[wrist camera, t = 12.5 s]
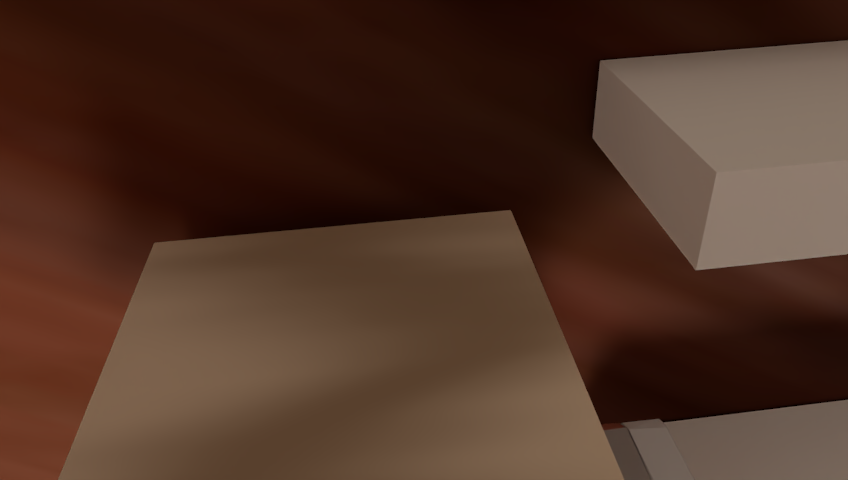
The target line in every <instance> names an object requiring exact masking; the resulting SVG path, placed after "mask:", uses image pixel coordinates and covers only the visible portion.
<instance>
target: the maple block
mask: <svg viewBox="0 0 848 480" xmlns="http://www.w3.org/2000/svg"><path fill="white" fill-rule="evenodd" d="M58 480H624V478H623V475H622V473H621V470H620V468H619V466H618V463H617V461H616V459H615V456H614V454H613V451H612V449H611V447H610V444H609V442H608V440H607V437H606V435H605V432H604V430H603V428H602V425H601V423H600V421H599V418H598V416H597V413H596V411H595V409H594V406H593V404H592V402H591V399H590V397H589V394H588V392H587V390H586V387H585V385H584V383H583V380H582V378H581V376H580V373H579V371H578V368H577V366H576V364H575V361H574V359H573V357H572V354H571V352H570V349H569V347H568V345H567V342H566V340H565V338H564V335H563V333H562V330H561V328H560V326H559V323H558V321H557V319H556V316H555V314H554V311H553V309H552V307H551V304H550V302H549V300H548V297H547V295H546V292H545V290H544V288H543V285H542V283H541V281H540V278H539V276H538V273H537V271H536V269H535V266H534V264H533V262H532V259H531V257H530V254H529V252H528V250H527V247H526V245H525V243H524V240H523V238H522V235H521V233H520V231H519V228H518V226H517V224H516V221H515V219H514V216H513V214H512V212H511V210H505V211H494V212H483V213H472V214H462V215H451V216H440V217H429V218H418V219H407V220H396V221H385V222H374V223H363V224H353V225H342V226H331V227H320V228H309V229H298V230H287V231H276V232H265V233H255V234H244V235H233V236H222V237H211V238H200V239H189V240H178V241H167V242H156V243H154V244H153V247H152V249H151V252H150V254H149V257H148V259H147V262H146V264H145V267H144V269H143V272H142V274H141V277H140V279H139V281H138V284H137V286H136V289H135V291H134V294H133V296H132V299H131V301H130V304H129V306H128V309H127V311H126V313H125V316H124V318H123V321H122V323H121V326H120V328H119V331H118V333H117V336H116V338H115V341H114V343H113V346H112V348H111V350H110V353H109V355H108V358H107V360H106V363H105V365H104V368H103V370H102V373H101V375H100V378H99V380H98V382H97V385H96V387H95V390H94V392H93V395H92V397H91V400H90V402H89V405H88V407H87V410H86V412H85V415H84V417H83V419H82V422H81V424H80V427H79V429H78V432H77V434H76V437H75V439H74V442H73V444H72V447H71V449H70V451H69V454H68V456H67V459H66V461H65V464H64V466H63V469H62V471H61V474H60V476H59V479H58Z"/></svg>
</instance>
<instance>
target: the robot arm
mask: <svg viewBox="0 0 848 480" xmlns="http://www.w3.org/2000/svg"><path fill="white" fill-rule="evenodd" d="M602 428H603V430H604V432H605V435H606V437H607V440H608V442H609V444H610V447H611V449H612V451H613V454H614V456H615V459H616V461H617V463H618V466H619V468H620V470H621V473H622V475H623V478H624V480H695V479H694V477H693V475H692V473H691V471H690V469H689V467H688V465H687V464H686V462H685V460H684V458H683V456H682V454H681V452H680V450H679V449H678V447H677V445H676V443H675V441H674V439H673V437H672V435H671V434H670V432H669V430H668V428H667V426H666V424H665V423H663V422H662V421H661V420H660V419H651V420H642V421H633V422H624V423H610V424H602Z"/></svg>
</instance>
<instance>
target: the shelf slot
mask: <svg viewBox="0 0 848 480" xmlns="http://www.w3.org/2000/svg"><path fill="white" fill-rule="evenodd" d="M592 138H593V139H594V141H595V142H596V143H597V145H598V146H599V147H600V148H601V150H602V151H603V152H604V153H605V155H606V156H607V157H608V159H609V160H610V161H611V162H612V164H613V165H614V166H615V168H616V169H617V170H618V171H619V173H620V174H621V175H622V177H623V178H624V179H625V180H626V182H627V183H628V184H629V185H630V187H631V188H632V189H633V191H634V192H635V193H636V194H637V196H638V197H639V198H640V200H641V201H642V202H643V203H644V205H645V206H646V207H647V208H648V210H649V211H650V212H651V214H652V215H653V216H654V217H655V219H656V220H657V221H658V223H659V224H660V225H661V226H662V228H663V229H664V230H665V232H666V233H667V234H668V235H669V237H670V238H671V239H672V240H673V242H674V243H675V244H676V246H677V247H678V248H679V249H680V251H681V252H682V253H683V255H684V256H685V257H686V258H687V260H688V261H689V262H690V264H691V265H692V266H693V267H694V269H695V270H704V269H713V268H723V267H732V266H741V265H751V264H760V263H769V262H779V261H788V260H797V259H807V258H816V257H825V256H835V255H844V254H848V40H845V41H833V42H820V43H808V44H796V45H783V46H771V47H759V48H747V49H734V50H722V51H710V52H697V53H685V54H673V55H660V56H648V57H636V58H624V59H611V60H600V66H599V76H598V86H597V96H596V106H595V116H594V126H593V136H592ZM664 423H665V424H666V426H667V428H668V430H669V432H670V434H671V435H672V437H673V439H674V441H675V443H676V445H677V447H678V449H679V450H680V452H681V454H682V456H683V458H684V460H685V462H686V464H687V465H688V467H689V469H690V471H691V473H692V475H693V477H694V479H695V480H848V400H841V401H833V402H825V403H817V404H809V405H801V406H793V407H785V408H777V409H769V410H761V411H753V412H745V413H737V414H729V415H720V416H712V417H704V418H696V419H688V420H680V421H672V422H664Z"/></svg>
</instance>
